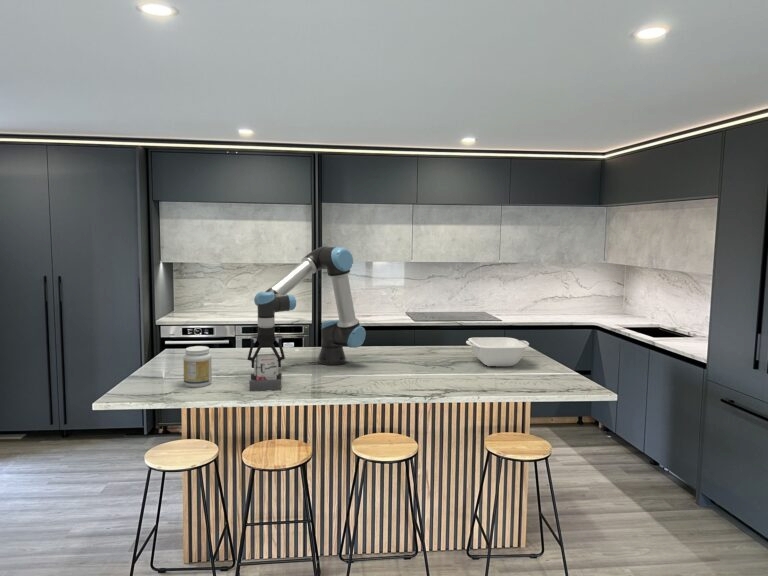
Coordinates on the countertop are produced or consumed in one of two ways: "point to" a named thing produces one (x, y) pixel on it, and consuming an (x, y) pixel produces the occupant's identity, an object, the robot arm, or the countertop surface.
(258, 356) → the ink box
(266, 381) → the cradle
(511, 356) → the baking dish
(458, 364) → the countertop surface
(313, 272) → the robot arm
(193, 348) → the supplement tub
